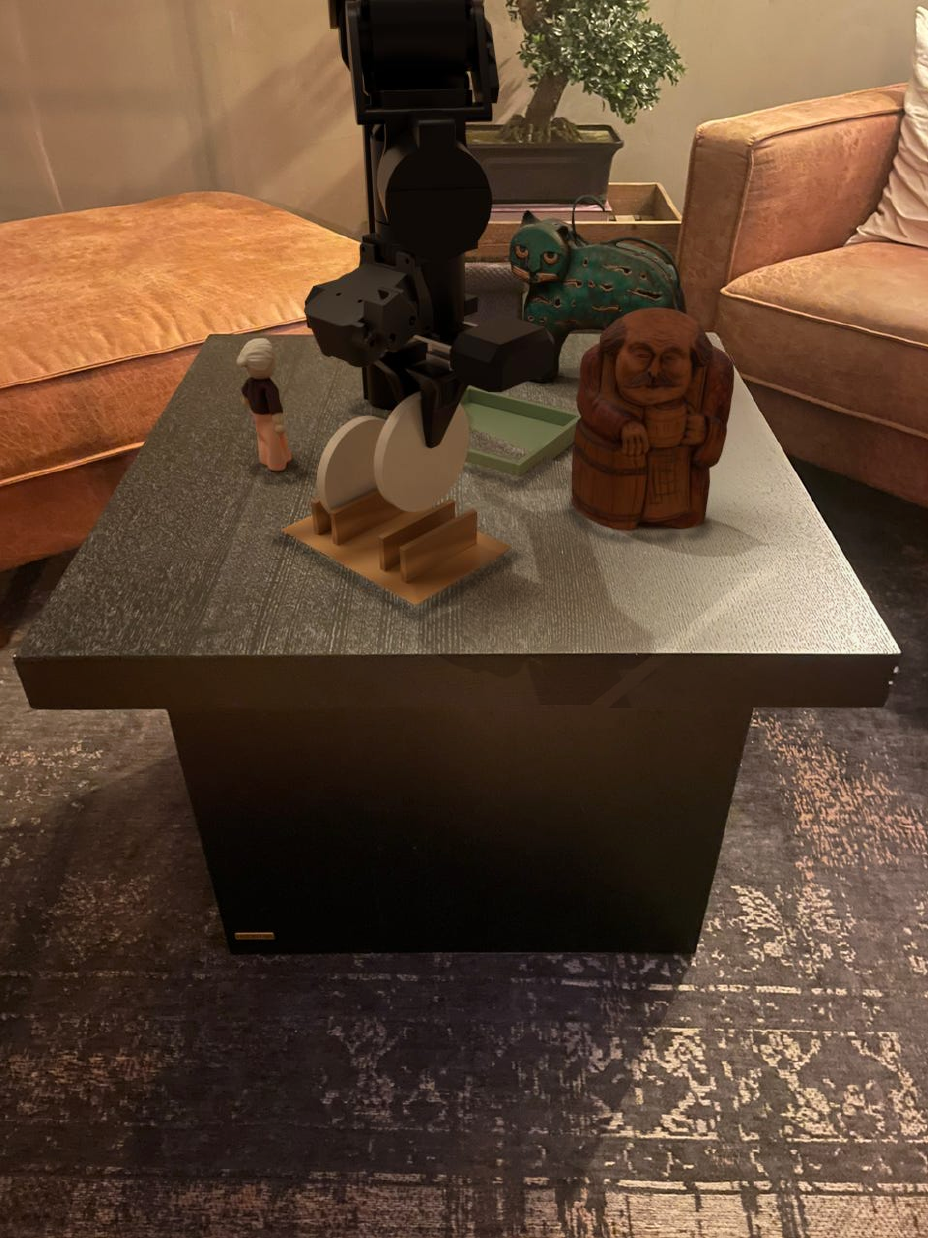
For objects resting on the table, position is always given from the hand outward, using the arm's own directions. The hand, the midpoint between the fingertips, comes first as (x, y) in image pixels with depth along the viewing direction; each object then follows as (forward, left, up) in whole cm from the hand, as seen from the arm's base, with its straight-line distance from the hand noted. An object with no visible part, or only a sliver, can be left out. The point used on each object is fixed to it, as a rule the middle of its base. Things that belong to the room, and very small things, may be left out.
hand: (426, 443), depth 67 cm
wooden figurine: (+11, +16, -11) cm, 22 cm away
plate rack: (-4, +1, -11) cm, 11 cm away
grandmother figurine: (-22, +6, -11) cm, 25 cm away
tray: (-8, +22, -11) cm, 26 cm away
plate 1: (-8, +1, -10) cm, 13 cm away
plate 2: (0, 0, -5) cm, 5 cm away
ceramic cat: (-6, +40, -11) cm, 42 cm away
